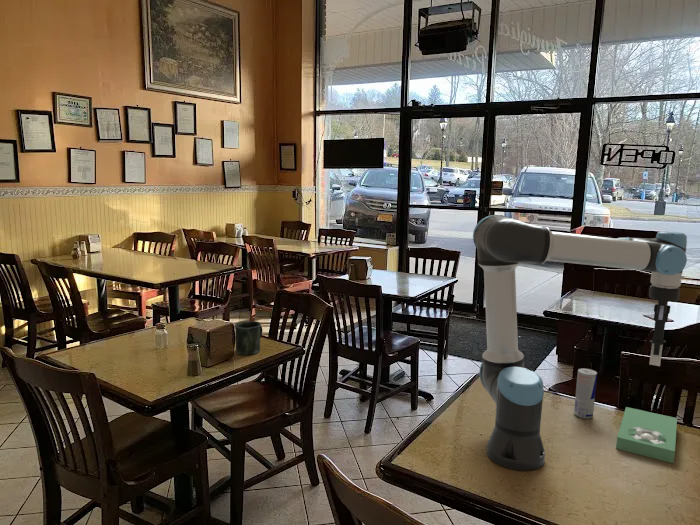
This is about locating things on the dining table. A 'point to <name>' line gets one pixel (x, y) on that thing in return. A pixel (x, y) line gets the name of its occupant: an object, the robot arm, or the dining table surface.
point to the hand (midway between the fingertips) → (654, 364)
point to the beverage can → (585, 393)
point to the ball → (647, 436)
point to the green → (651, 424)
